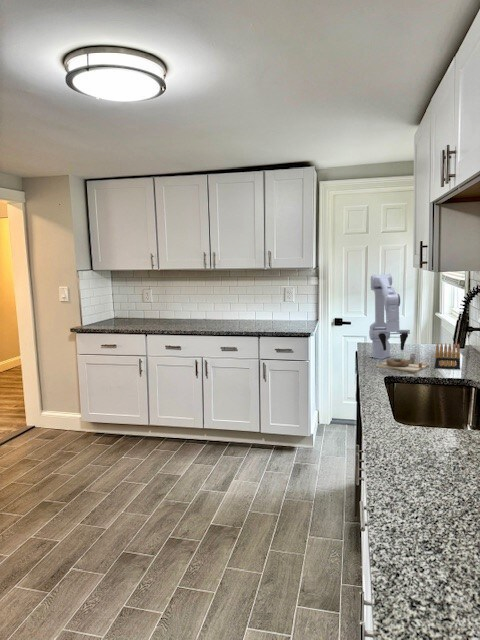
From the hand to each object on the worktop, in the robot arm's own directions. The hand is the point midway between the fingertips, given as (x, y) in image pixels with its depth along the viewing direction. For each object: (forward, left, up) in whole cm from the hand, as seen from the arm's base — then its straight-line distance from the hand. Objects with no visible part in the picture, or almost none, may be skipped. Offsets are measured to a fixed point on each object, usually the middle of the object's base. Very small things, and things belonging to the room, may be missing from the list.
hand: (393, 350), depth 202 cm
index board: (-12, -2, -11) cm, 16 cm away
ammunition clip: (-22, +15, -11) cm, 29 cm away
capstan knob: (-13, -3, -9) cm, 16 cm away
